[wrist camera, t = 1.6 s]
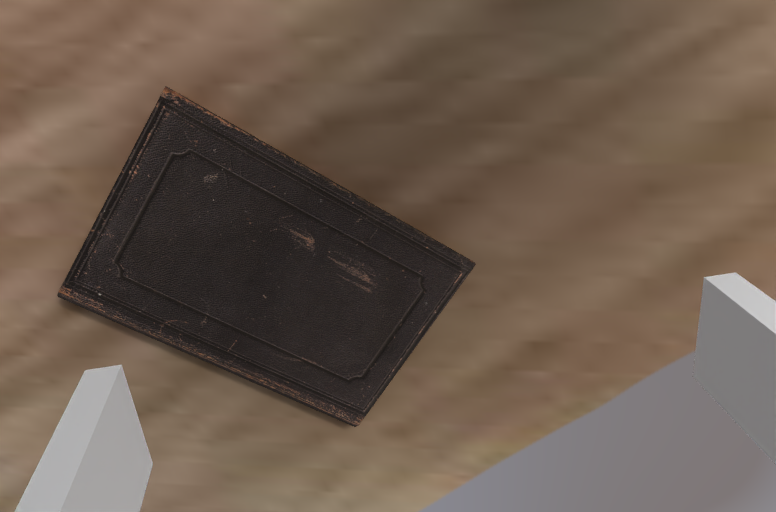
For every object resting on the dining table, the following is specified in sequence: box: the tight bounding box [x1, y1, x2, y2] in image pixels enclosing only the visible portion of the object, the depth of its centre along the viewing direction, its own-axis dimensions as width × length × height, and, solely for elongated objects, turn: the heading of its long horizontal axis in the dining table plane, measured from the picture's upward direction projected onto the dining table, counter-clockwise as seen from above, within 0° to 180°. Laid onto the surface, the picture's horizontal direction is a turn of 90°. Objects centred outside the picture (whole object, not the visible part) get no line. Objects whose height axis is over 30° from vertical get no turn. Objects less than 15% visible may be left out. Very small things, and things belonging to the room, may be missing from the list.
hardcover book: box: [58, 87, 476, 427], centre depth 46 cm, size 16×23×2 cm
